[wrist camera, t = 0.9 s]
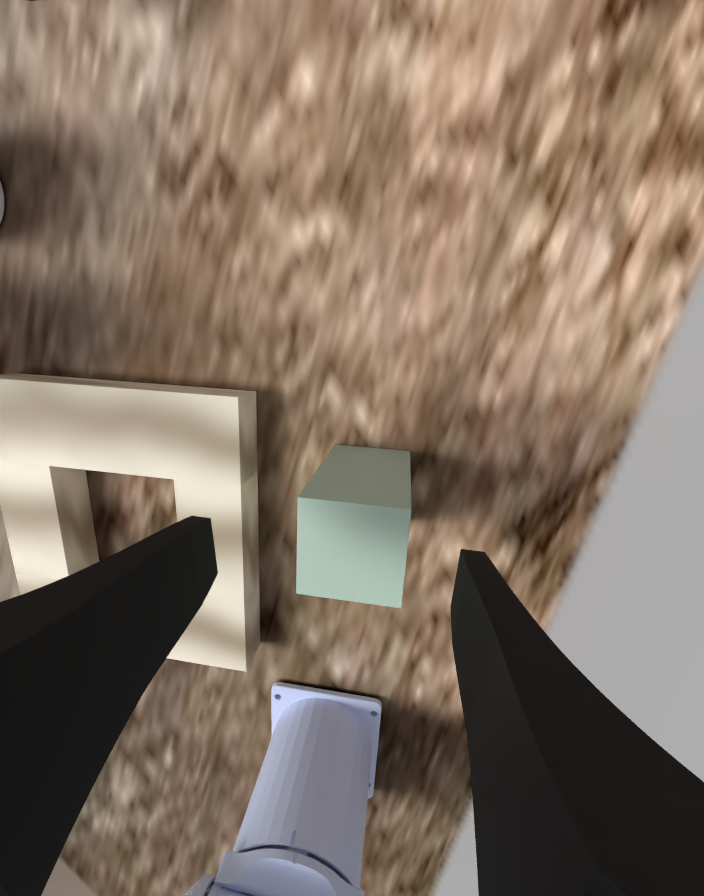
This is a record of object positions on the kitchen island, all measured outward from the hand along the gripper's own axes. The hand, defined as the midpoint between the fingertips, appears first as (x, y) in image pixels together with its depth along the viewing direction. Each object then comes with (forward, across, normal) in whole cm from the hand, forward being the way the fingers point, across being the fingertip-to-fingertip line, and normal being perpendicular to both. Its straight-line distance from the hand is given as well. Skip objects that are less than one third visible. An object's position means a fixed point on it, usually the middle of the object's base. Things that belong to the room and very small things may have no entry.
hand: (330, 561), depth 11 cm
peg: (+12, 0, +4) cm, 12 cm away
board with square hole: (+11, +15, +8) cm, 20 cm away
